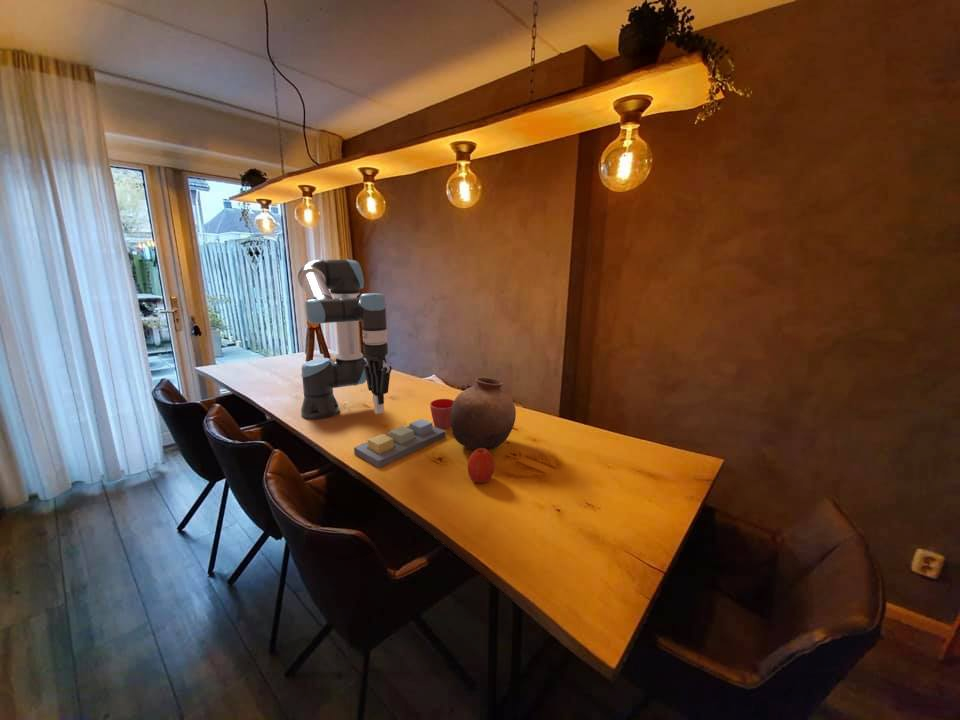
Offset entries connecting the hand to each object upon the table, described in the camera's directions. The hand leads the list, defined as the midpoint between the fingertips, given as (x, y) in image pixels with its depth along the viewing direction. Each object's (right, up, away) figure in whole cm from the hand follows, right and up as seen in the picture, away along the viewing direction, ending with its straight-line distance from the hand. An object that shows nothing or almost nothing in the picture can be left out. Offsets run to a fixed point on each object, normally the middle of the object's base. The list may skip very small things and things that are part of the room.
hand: (379, 412), depth 126 cm
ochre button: (0, -13, +3) cm, 13 cm away
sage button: (+5, -11, +10) cm, 16 cm away
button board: (+5, -13, +11) cm, 18 cm away
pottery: (+35, -14, +11) cm, 39 cm away
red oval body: (+34, -19, -11) cm, 40 cm away
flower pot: (+19, -9, +28) cm, 35 cm away
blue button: (+11, -10, +17) cm, 22 cm away
